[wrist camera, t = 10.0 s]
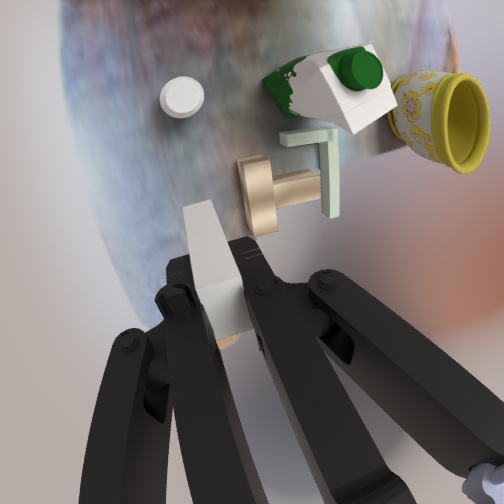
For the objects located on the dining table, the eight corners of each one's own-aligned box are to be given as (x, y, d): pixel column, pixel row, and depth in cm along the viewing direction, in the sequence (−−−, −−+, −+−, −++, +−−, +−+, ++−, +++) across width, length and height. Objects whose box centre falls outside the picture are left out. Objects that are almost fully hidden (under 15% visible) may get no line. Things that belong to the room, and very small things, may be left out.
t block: (236, 159, 41) (243, 164, 37) (306, 146, 43) (318, 151, 39) (247, 226, 47) (254, 237, 44) (310, 210, 49) (321, 219, 46)
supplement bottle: (156, 113, 34) (153, 115, 26) (166, 78, 31) (165, 69, 23) (192, 119, 36) (200, 123, 28) (202, 85, 33) (213, 79, 25)
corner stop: (278, 132, 40) (286, 134, 38) (327, 126, 42) (337, 128, 39) (287, 220, 49) (294, 228, 46) (330, 209, 50) (339, 216, 48)
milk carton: (298, 53, 34) (385, 35, 17) (325, 99, 39) (416, 111, 23) (253, 78, 35) (323, 64, 18) (284, 125, 40) (364, 148, 23)
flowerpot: (438, 127, 48) (495, 146, 34) (393, 165, 49) (454, 193, 36) (414, 56, 37) (478, 62, 24) (361, 87, 39) (432, 95, 26)
